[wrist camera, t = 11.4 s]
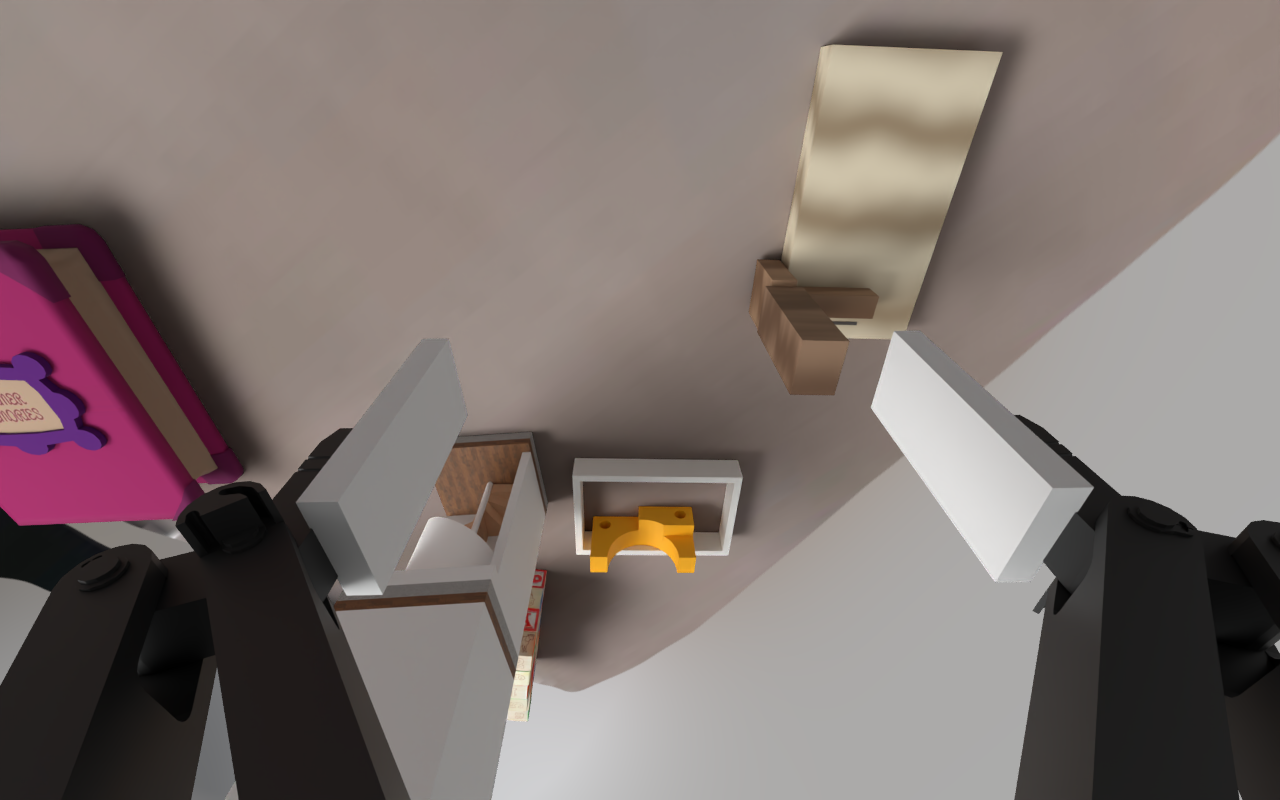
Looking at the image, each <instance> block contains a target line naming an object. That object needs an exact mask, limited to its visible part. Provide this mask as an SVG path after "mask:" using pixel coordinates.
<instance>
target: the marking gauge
mask: <svg viewBox="0 0 1280 800" xmlns="http://www.w3.org/2000/svg"><path fill="white" fill-rule="evenodd" d="M878 299H879V296H878V295H877V294H876V293H875V292H873V291H872V290H871V289H870V288H841V287H803V286H797V279H796V278H795V277H794V276H793V275H792V274H791V273H790V271H789V270H788V269H787V268H786V267H785V266H784V265H783V263H782V262H781V261H780V260H759V259H757V265H756V271H755V277H754V283H753V290H752V296H751V302H750V308H749V314H750V316H751V317H752V319H753V321H754V323H755V325H756V327H757V329H758V331H757V332H758V334H759V336H760V338H761V340H762V342H763V344H764V346H765V348H766V350H767V351H768V353H769V355H770V357H771V359H772V361H773V363H774V365H775V367H776V369H777V370H778V372H779V374H780V376H781V378H782V380H783V382H784V384H785V386H786V388H787V390H788V391H789V393H790V394H792V395H834V394H835V390H836V387H837V383H838V380H839V376H840V373H841V369H842V366H843V362H844V359H845V355H846V352H847V348H848V345H849V340H848V339H847V338H846V337H845V336H844V334H843V333H842V332H841V331H840V330H839V329H838V327H837V326H836V325H835V324H834V323H833V322H832V320H831V319H830V318H856V319H873V316H874V312H875V309H876V306H877V303H878Z"/></svg>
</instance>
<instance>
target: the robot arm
mask: <svg viewBox="0 0 1280 800" xmlns="http://www.w3.org/2000/svg"><path fill="white" fill-rule="evenodd" d="M871 409H872V410H873V411H874V413H875V414H876V416H877V417H878V418H879V420H880V421H881V423H882V424H883V425H884V427H885V428H886V430H887V431H888V432H889V434H890V435H891V437H892V438H893V439H894V441H895V442H896V444H897V445H898V447H899V448H900V449H901V451H902V452H903V454H904V455H905V456H906V458H907V459H908V460H909V462H910V463H911V465H912V466H913V468H914V469H915V470H916V471H917V473H918V474H919V476H920V477H921V479H922V480H923V482H924V483H925V484H926V486H927V487H928V489H929V490H930V491H931V493H932V494H933V496H934V497H935V498H936V500H937V501H938V503H939V504H940V505H941V507H942V508H943V510H944V511H945V512H946V514H947V515H948V517H949V518H950V520H951V521H952V522H953V524H954V525H955V527H956V528H957V529H958V531H959V532H960V534H961V535H962V536H963V538H964V539H965V541H966V542H967V543H968V545H969V546H970V547H971V549H972V550H973V552H974V553H975V555H976V556H977V557H978V559H979V560H980V562H981V563H982V564H983V566H984V567H985V569H986V570H987V571H988V573H989V574H990V576H991V577H992V579H993V580H994V581H995V582H1031V581H1032V579H1033V577H1034V576H1035V575H1036V573H1037V572H1038V570H1039V569H1040V567H1041V566H1042V564H1043V563H1045V564H1046V565H1047V567H1048V568H1049V569H1050V570H1051V572H1052V573H1053V574H1054V575H1055V576H1056V578H1055V579H1054V581H1053V582H1052V584H1051V585H1050V586H1049V588H1048V589H1047V591H1046V592H1045V593H1044V595H1043V596H1042V598H1041V599H1040V600H1039V602H1038V603H1037V605H1036V606H1035V608H1034V610H1033V611H1034V612H1036V613H1038V614H1039V613H1040V612H1041V610H1042V609H1043V608H1045V613H1044V619H1043V625H1042V631H1041V637H1040V644H1039V650H1038V656H1037V662H1036V669H1035V675H1034V681H1033V687H1032V694H1031V700H1030V706H1029V712H1028V718H1027V725H1026V731H1025V737H1024V744H1023V750H1022V756H1021V762H1020V768H1019V775H1018V781H1017V787H1016V793H1015V800H1239V793H1240V795H1241V797H1242V800H1280V653H1279V652H1278V650H1277V648H1276V646H1275V645H1274V644H1275V643H1276V642H1277V641H1279V640H1280V523H1278V522H1272V521H1265V520H1261V521H1254V522H1251V523H1250V524H1249V525H1248V526H1247V527H1246V528H1245V529H1244V530H1243V531H1242V532H1241V533H1240V534H1239V535H1238V536H1237V537H1236V538H1234V537H1229V536H1223V535H1219V534H1214V533H1209V532H1203V531H1198V530H1197V528H1195V526H1193V525H1192V524H1191V523H1190V522H1189V521H1188V520H1187V519H1186V518H1184V517H1183V516H1181V515H1180V514H1178V513H1176V512H1175V511H1173V510H1172V509H1170V508H1168V507H1165V506H1163V505H1161V504H1158V503H1156V502H1154V501H1151V500H1147V499H1143V498H1139V497H1135V496H1121V495H1120V494H1119V493H1118V492H1116V491H1115V490H1114V489H1113V488H1112V487H1111V486H1109V485H1108V484H1107V483H1106V482H1105V481H1104V480H1102V479H1101V478H1100V477H1099V476H1098V475H1097V474H1096V473H1094V472H1093V471H1092V470H1091V469H1090V468H1089V467H1087V466H1086V465H1085V464H1084V463H1083V462H1082V461H1081V460H1079V459H1078V458H1077V457H1076V456H1072V453H1071V452H1070V451H1069V450H1068V449H1067V448H1065V447H1064V446H1063V445H1062V444H1059V443H1058V442H1059V441H1058V440H1056V439H1055V438H1054V437H1053V436H1052V435H1051V434H1049V433H1048V432H1047V431H1046V430H1045V429H1044V428H1042V427H1041V426H1039V425H1037V424H1035V423H1033V422H1031V421H1030V420H1028V419H1026V418H1024V417H1022V416H1020V415H1013V414H1012V413H1011V412H1010V411H1008V409H1006V408H1005V407H1004V406H1003V405H1002V404H1001V403H1000V402H999V401H998V400H996V399H995V398H994V397H993V396H992V395H991V394H990V393H989V392H988V391H986V390H985V389H984V388H983V387H982V386H981V385H980V384H979V383H978V382H976V381H975V380H974V379H973V378H972V377H971V376H970V375H969V374H968V373H966V372H965V371H964V370H963V369H962V368H961V367H960V366H959V365H957V364H956V363H955V362H954V361H953V360H952V359H951V358H950V357H949V356H947V355H946V354H945V353H944V352H943V351H942V350H941V349H940V348H939V347H937V346H936V345H935V344H934V343H933V342H932V341H931V340H930V339H929V338H927V337H926V336H925V335H924V334H923V333H922V332H921V331H894V332H893V336H892V339H891V342H890V346H889V349H888V352H887V356H886V359H885V362H884V366H883V369H882V372H881V376H880V379H879V383H878V386H877V389H876V393H875V396H874V399H873V403H872V406H871ZM467 416H468V413H467V409H466V405H465V401H464V397H463V393H462V389H461V385H460V381H459V377H458V373H457V369H456V365H455V361H454V357H453V353H452V349H451V345H450V341H449V338H446V339H422V340H421V342H420V343H419V344H418V346H417V347H416V348H415V350H414V351H413V352H412V353H411V355H410V356H409V357H408V359H407V360H406V361H405V362H404V364H403V365H402V366H401V368H400V369H399V370H398V371H397V373H396V374H395V375H394V377H393V378H392V379H391V380H390V382H389V383H388V384H387V386H386V387H385V388H384V389H383V391H382V392H381V393H380V395H379V396H378V397H377V398H376V400H375V401H374V402H373V404H372V405H371V406H370V407H369V409H368V410H367V411H366V413H365V414H364V415H363V416H362V418H361V419H360V420H359V422H358V423H357V424H356V425H355V427H354V428H342V429H339V430H337V431H336V432H334V433H333V434H331V435H330V436H329V437H327V438H326V439H324V440H323V441H321V442H320V443H319V445H318V446H317V447H316V448H315V449H314V451H313V452H312V453H311V454H310V455H309V456H308V457H309V458H308V460H305V461H304V462H303V464H302V465H301V466H300V467H299V468H298V472H295V473H294V474H293V476H292V477H291V478H290V479H289V480H288V482H287V483H286V484H285V485H284V486H283V488H282V489H281V490H280V491H279V492H278V494H277V495H276V496H275V497H274V498H273V500H272V499H271V497H270V495H269V494H268V492H267V490H266V489H265V488H264V487H263V486H262V485H261V484H260V483H255V482H251V481H247V482H236V483H232V484H228V485H225V486H221V487H218V488H216V489H214V490H212V491H210V492H208V493H205V494H203V495H201V496H200V497H199V498H197V499H196V500H194V501H193V502H192V503H190V504H189V505H187V506H186V508H185V509H184V510H183V511H182V512H181V513H180V515H179V516H178V518H177V522H176V527H177V529H178V530H179V531H180V533H181V534H182V535H183V537H184V538H185V539H186V540H187V542H188V543H189V544H190V546H191V547H192V548H193V549H194V551H193V552H189V553H185V554H181V555H177V556H173V557H169V558H165V559H161V560H159V559H158V557H157V556H156V555H155V554H154V553H153V551H152V550H150V549H149V548H148V547H147V546H145V545H139V544H130V545H124V546H119V547H115V548H112V549H109V550H107V551H104V552H101V553H99V554H96V555H94V556H92V557H90V558H89V559H87V560H85V561H83V562H82V563H80V564H79V565H77V566H76V567H75V568H73V569H72V570H71V571H70V572H68V573H67V574H66V575H65V576H63V577H62V578H61V580H60V581H59V582H58V583H57V585H56V586H55V587H54V588H53V590H52V592H51V593H50V596H49V597H48V599H47V601H46V603H45V605H44V606H43V608H42V610H41V612H40V614H39V616H38V618H37V619H36V621H35V623H34V625H33V627H32V629H31V630H30V632H29V634H28V636H27V638H26V639H25V641H24V643H23V645H22V647H21V649H20V650H19V652H18V654H17V656H16V658H15V660H14V662H13V663H12V665H11V667H10V669H9V671H8V673H7V674H6V676H5V678H4V680H3V682H2V684H1V685H0V800H191V797H192V792H193V787H194V781H195V776H196V771H197V766H198V761H199V756H200V751H201V746H202V741H203V736H204V730H205V725H206V720H207V715H208V709H209V705H210V700H211V695H212V689H213V684H214V678H215V674H216V668H218V674H219V680H220V687H221V693H222V699H223V706H224V712H225V718H226V724H227V730H228V737H229V743H230V749H231V755H232V762H233V768H234V774H235V781H236V787H237V793H238V799H239V800H411V799H410V797H409V794H408V792H407V789H406V787H405V784H404V782H403V779H402V777H401V774H400V772H399V769H398V767H397V764H396V762H395V759H394V757H393V754H392V752H391V749H390V747H389V744H388V742H387V739H386V737H385V734H384V732H383V729H382V727H381V724H380V722H379V719H378V717H377V714H376V712H375V709H374V707H373V704H372V702H371V699H370V696H369V694H368V691H367V689H366V686H365V684H364V681H363V679H362V676H361V674H360V671H359V669H358V666H357V664H356V661H355V659H354V656H353V654H352V651H351V649H350V646H349V644H348V641H347V639H346V636H345V634H344V631H343V629H342V626H341V624H340V621H339V619H338V616H337V614H336V611H335V609H334V606H333V604H332V602H331V600H330V599H329V597H328V593H329V591H330V590H331V588H332V586H333V584H334V583H335V581H336V579H338V581H339V583H340V584H341V586H342V588H343V590H344V592H345V594H346V595H347V596H351V595H383V593H384V591H385V589H386V587H387V585H388V583H389V580H390V578H391V576H392V574H393V572H394V570H395V568H396V566H397V564H398V561H399V559H400V557H401V555H402V553H403V551H404V549H405V547H406V545H407V542H408V540H409V538H410V536H411V534H412V532H413V530H414V528H415V526H416V523H417V521H418V519H419V517H420V515H421V513H422V511H423V509H424V507H425V505H426V502H427V500H428V498H429V496H430V494H431V492H432V490H433V488H434V486H435V483H436V481H437V479H438V477H439V475H440V473H441V471H442V469H443V467H444V464H445V462H446V460H447V458H448V456H449V454H450V452H451V450H452V448H453V445H454V443H455V441H456V439H457V437H458V435H459V433H460V431H461V429H462V426H463V424H464V422H465V420H466V418H467ZM1238 790H1239V793H1238Z"/></svg>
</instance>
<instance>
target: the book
mask: <svg viewBox="0 0 1280 800" xmlns="http://www.w3.org/2000/svg"><path fill="white" fill-rule="evenodd" d="M242 474H243V467H242V465H241V464H240V462H239V460H238V459H237V457H236V455H235V454H234V452H233V450H232V449H231V448H230V449H229V447H228V446H227V444H226V442H225V441H224V439H223V438H222V436H221V434H220V433H219V431H218V429H217V428H216V426H215V424H214V423H213V421H212V419H211V418H210V416H209V415H208V413H207V411H206V410H205V408H204V406H203V405H202V403H201V401H200V400H199V398H198V396H197V395H196V393H195V392H194V390H193V388H192V387H191V385H190V383H189V382H188V380H187V378H186V377H185V375H184V373H183V372H182V370H181V369H180V367H179V365H178V364H177V362H176V360H175V359H174V357H173V355H172V354H171V352H170V350H169V349H168V347H167V346H166V344H165V342H164V341H163V339H162V337H161V336H160V334H159V332H158V331H157V329H156V327H155V326H154V324H153V323H152V321H151V319H150V318H149V316H148V314H147V313H146V311H145V309H144V308H143V306H142V304H141V303H140V301H139V300H138V298H137V296H136V295H135V293H134V291H133V290H132V288H131V286H130V285H129V283H128V281H127V280H126V278H125V274H124V272H123V271H122V269H121V267H120V266H119V264H118V263H117V261H116V259H115V258H114V256H113V254H112V253H111V251H110V249H109V248H108V246H107V244H106V243H105V241H104V240H103V239H102V238H101V237H100V236H99V235H98V234H97V232H96V231H95V230H93V229H91V228H89V227H86V226H84V225H81V224H70V225H47V226H41V227H37V228H26V229H4V230H0V507H1V508H2V509H3V510H4V511H5V512H6V513H7V514H8V515H9V516H10V517H11V518H12V519H13V520H14V521H15V522H16V523H17V524H18V525H42V524H65V523H88V522H109V521H110V522H112V521H135V520H158V519H173V520H172V521H175V520H177V518H178V516H179V515H180V513H181V512H182V511H183V510H184V509H185V508H186V506H187V505H189V504H190V503H192V502H193V501H194V500H196V499H197V498H199V497H200V496H201V495H203V494H205V493H204V491H203V490H202V488H201V487H200V485H199V484H198V483H208V484H225V483H233V482H234V481H236V480H237V479H238V478H239V477H240V476H241V475H242Z"/></svg>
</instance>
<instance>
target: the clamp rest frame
mask: <svg viewBox="0 0 1280 800" xmlns="http://www.w3.org/2000/svg"><path fill="white" fill-rule="evenodd" d="M572 478H573V498H574V517H575V537H576V555H590V552H591V540H592V531H585V527H584V500H583V481H596V482H682V483H727V486H726V492H725V498H724V504H723V510H722V516H721V522H720V527H719V532H693V540H694V547H695V554H696V555H717V556H728V554H729V548H730V543H731V538H732V533H733V527H734V522H735V517H736V511H737V506H738V501H739V496H740V490H741V485H742V480H743V476H742V473H741V469H740V466H739V463H738V460H685V459H609V458H575V461H574V468H573V475H572ZM616 555H667V554H666V553H665V552H664V551H662V550H660V549H658V548H655V547H652V546H647V545H636V546H631V547H628V548H625V549H623V550H621V551H620V552H618V553H617V554H616Z"/></svg>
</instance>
